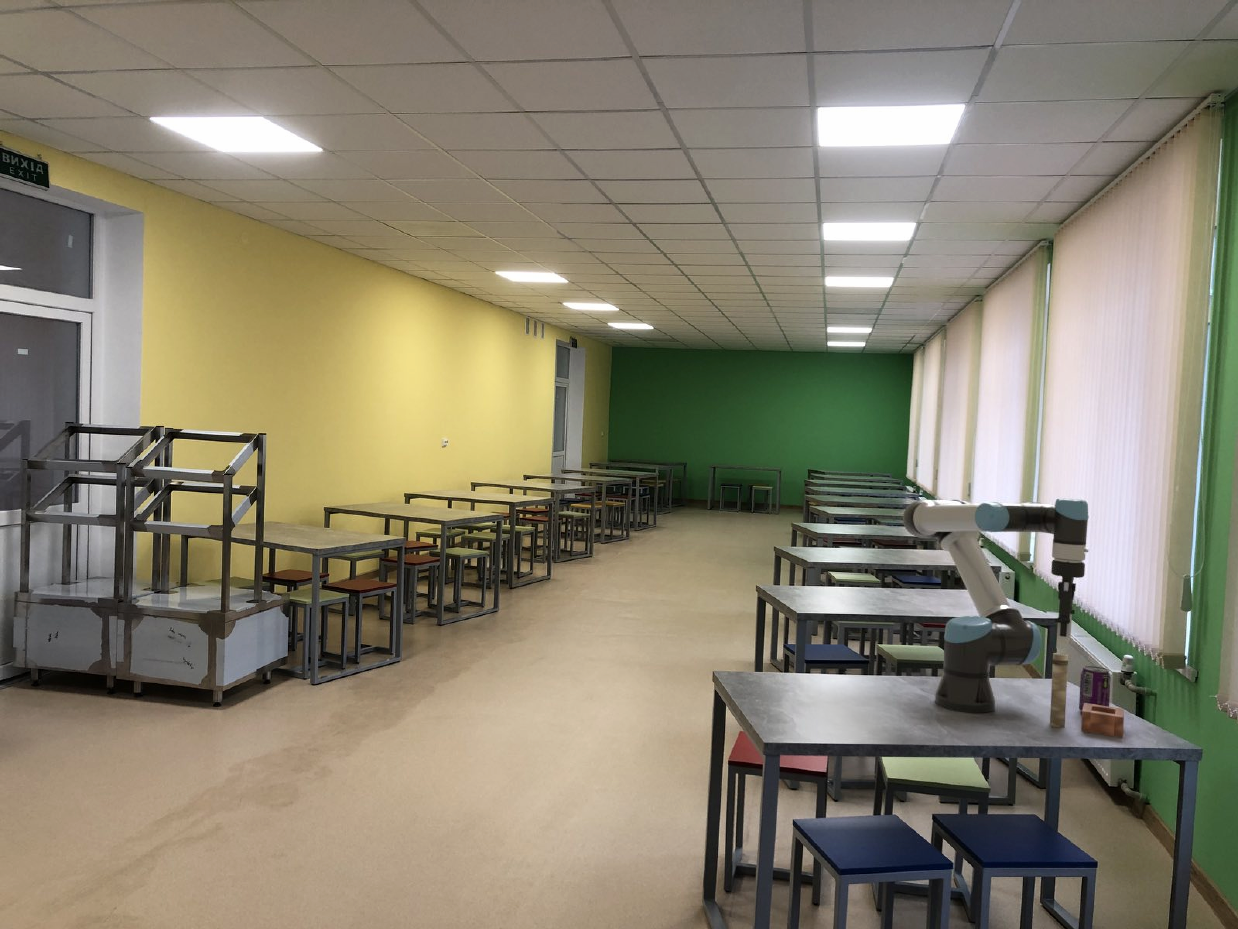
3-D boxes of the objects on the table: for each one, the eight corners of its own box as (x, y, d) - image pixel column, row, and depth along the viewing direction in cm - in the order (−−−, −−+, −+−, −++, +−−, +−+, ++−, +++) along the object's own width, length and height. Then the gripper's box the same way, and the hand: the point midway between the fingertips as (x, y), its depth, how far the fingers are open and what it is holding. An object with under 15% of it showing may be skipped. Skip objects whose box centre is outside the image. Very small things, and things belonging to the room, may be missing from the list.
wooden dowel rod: (1048, 726, 232) (1052, 654, 231) (1050, 722, 235) (1053, 652, 235) (1064, 728, 230) (1067, 656, 230) (1065, 725, 233) (1068, 654, 233)
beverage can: (1112, 718, 241) (1114, 673, 240) (1083, 716, 242) (1085, 670, 242) (1104, 711, 248) (1106, 666, 247) (1075, 708, 249) (1077, 664, 249)
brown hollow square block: (1081, 731, 229) (1082, 711, 228) (1083, 722, 236) (1084, 702, 236) (1122, 738, 224) (1123, 717, 224) (1123, 728, 232) (1124, 709, 232)
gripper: (1084, 567, 219) (1078, 656, 220) (1086, 556, 241) (1081, 637, 242) (1049, 564, 222) (1044, 651, 223) (1054, 553, 245) (1049, 633, 245)
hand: (1063, 644), depth 233 cm, fingers open, 13 cm apart
